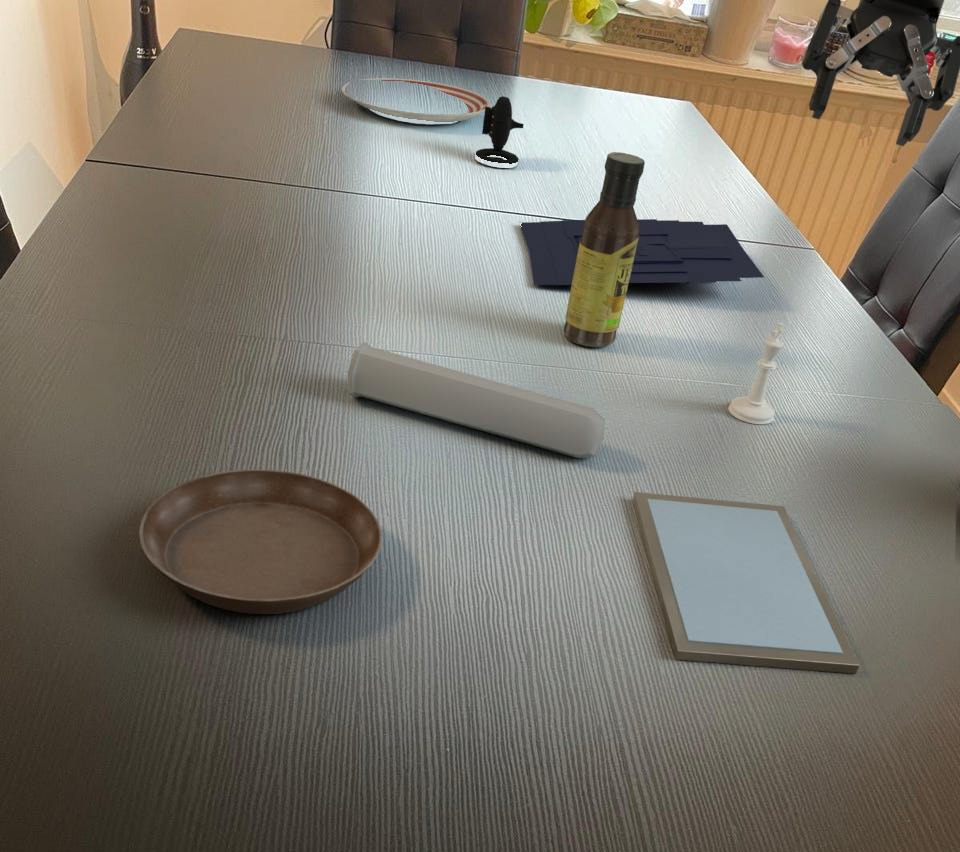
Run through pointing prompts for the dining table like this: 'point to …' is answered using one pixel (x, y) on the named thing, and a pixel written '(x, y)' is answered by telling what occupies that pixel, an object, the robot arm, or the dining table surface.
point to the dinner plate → (471, 99)
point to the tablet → (739, 585)
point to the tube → (475, 402)
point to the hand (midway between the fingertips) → (860, 128)
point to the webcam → (499, 131)
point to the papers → (644, 252)
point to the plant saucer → (260, 539)
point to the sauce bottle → (605, 256)
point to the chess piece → (760, 385)
